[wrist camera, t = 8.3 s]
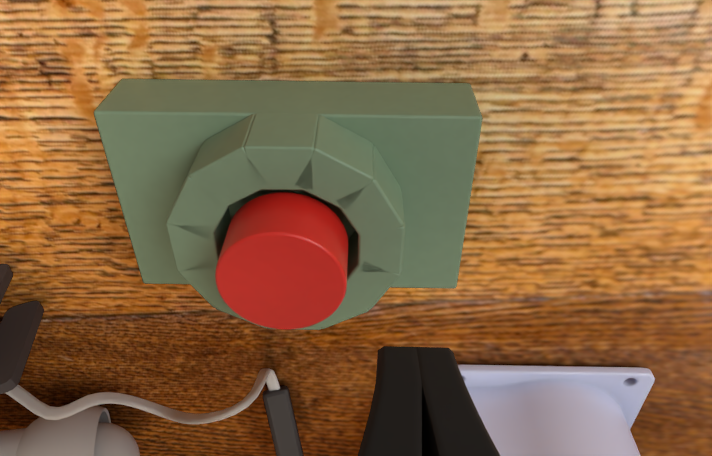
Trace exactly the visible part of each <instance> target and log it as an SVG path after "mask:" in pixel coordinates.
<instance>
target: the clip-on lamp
mask: <svg viewBox="0 0 712 456" xmlns="http://www.w3.org/2000/svg"><path fill="white" fill-rule="evenodd" d="M12 277H13V273H12V271H11V269H10V267H9V265H7V264H0V303H1V301H2V299H3V297H4V294H5V292H6V290H7V288H8V286H9V283H10V281H11V279H12ZM43 313H44V309H43V307H42V306H41V304H40V303H39V302H38V301H31V302H28V303H24V304H21V305H17V306H14V307H12V308H10V309H9V310H8V311H7V312H6V313H5V315H4V317H3V319H2V321H1V323H0V394H3V393H6V394H7V395H9V396H10V397H12V398H13V399H14V400H16V401H17V402H19V403H20V404H21V405H23V406H24V407H26V408H27V409H28V410H30V411H31V412H32V413H34V414H36V415H38V416H40V417H39V418H38V419H36V420H35V421H33V422H32V423H31V424H30V425H29V426H28V427H27V428H22V429H13V430H4V431H0V456H140V453H139V448H138V445H137V443H136V441H135V439H134V438H133V436H132V435H131V434H130V433H129V432H128V431H127V430H125V429H124V428H122V427H120V426H118V425H116V424H112V423H111V419H110V415H109V412H108V410H107V409H106V408H105V407H101V406H98V405H100V404H121V405H126V406H130V407H134V408H137V409H140V410H143V411H146V412H149V413H152V414H155V415H158V416H160V417H163V418H166V419H169V420H172V421H176V422H179V423H185V424H204V423H211V422H215V421H219V420H223V419H225V418H228V417H230V416H233V415H236V414H237V413H239V412H240V411H242V410H244V409H245V408H247V407H248V406H249V405H250V404H251V403H252V402H253V401H254V400H255V399H256V398H257V397H258V395H259V394H260V392H261V390H262V389H263V387H264V385H265V383H267V386H268V390H266V391H264V392H263V400H264V405H265V409H266V413H267V417H268V421H269V426H270V430H271V434H272V438H273V442H274V447H275V451H276V455H277V456H304V455H303V451H302V446H301V442H300V437H299V433H298V429H297V424H296V420H295V416H294V411H293V407H292V403H291V398H290V394H289V389H288V387H287V386H281V387H280V386H279V383H278V379H277V377H276V375H275V373H274V370H272V369H269V368H263V369H261V370H260V372H259V373H258V376H257V379H256V381H255V384H254V386H253V388H252V389H251V391H250V393H249V394H248V395H247V396H246V397H245V398H244V399H243V400H242V401H240V402H239V403H237V404H235V405H234V406H232V407H229V408H227V409H224V410H221V411H217V412H213V413H205V414H192V413H185V412H181V411H177V410H174V409H171V408H168V407H165V406H162V405H159V404H157V403H154V402H151V401H148V400H145V399H142V398H138V397H135V396H131V395H127V394H122V393H114V392H100V393H94V394H90V395H87V396H85V397H82V398H80V399H78V400H76V401H74V402H72V403H70V404H67V405H64V406H61V407H53V406H48V405H47V404H45V403H43V402H41V401H39V400H38V399H37V398H36V397H34V396H33V395H32V394H30V393H29V392H28V391H26V390H25V389H24V388H22V387H21V386H19V385H18V383H19V382H20V379H21V376H22V373H23V370H24V367H25V364H26V361H27V359H28V356H29V353H30V350H31V347H32V344H33V341H34V339H35V336H36V333H37V330H38V327H39V324H40V321H41V318H42V316H43Z"/></svg>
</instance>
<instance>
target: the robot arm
mask: <svg viewBox="0 0 712 456" xmlns="http://www.w3.org/2000/svg"><path fill="white" fill-rule="evenodd" d="M654 380H655V378H654V376H653V374H652V372H651V370H649V369H648V368H642V367H585V366H524V365H464V364H457V362H456V359H455V356H454V353H453V352H452V351H451V350H450V349H449V348H430V347H387V346H384V347H383V348H381V349H379V350H378V359H377V375H376V385H375V391H374V396H373V400H372V405H371V410H370V414H369V418H368V421H367V425H366V429H365V432H364V436H363V440H362V443H361V447H360V450H359V453H358V456H641V455H640V453H639V451H638V448H637V446H636V443H635V441H634V439H633V436H632V434H631V431H630V428H631V426H632V424H633V422H634V420H635V419H636V417H637V415H638V413H639V411H640V409H641V407H642V405H643V403H644V401H645V399H646V397H647V395H648V393H649V391H650V389H651V387H652V385H653V383H654Z"/></svg>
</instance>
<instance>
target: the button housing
mask: <svg viewBox="0 0 712 456" xmlns="http://www.w3.org/2000/svg"><path fill="white" fill-rule="evenodd" d="M94 116H95V120H96V123H97V126H98V130H99V133H100V137H101V140H102V143H103V147H104V150H105V154H106V157H107V161H108V164H109V167H110V171H111V174H112V178H113V181H114V184H115V188H116V191H117V195H118V198H119V201H120V205H121V208H122V212H123V215H124V219H125V222H126V225H127V229H128V232H129V236H130V239H131V242H132V246H133V249H134V253H135V256H136V260H137V263H138V266H139V270H140V273H141V277H142V280H143V283H145V284H191V285H192V286H193V287H194V288H195V289H196V290H197V291H198V292H199V293H200V294H201V295H202V296H203V297H204V298H205V299H206V300H207V301H208V302H209V303H210V304H211V305H212V306H213V307H214V308H216V309H217V310H220V311H222V312H225V313H227V314H230V315H232V316H235V317H238V318H240V319H243V320H245V321H248V320H246V319H244V318H243V317H241V316H239V315H238V314H237V313H235V312H234V311H233V310H232V309H231V308H230V307H229V306H228V305H227V304H226V303H225V302H224V300H223V299H222V297H221V295H220V293H219V291H218V288H217V284H216V279H215V271H216V266H217V262H218V259H219V256H220V253H221V250H222V247H223V244H224V240H225V237H226V234H227V231H228V228H229V225H230V222H231V220H232V218H233V216H234V215H235V213H236V212H237V211H238V210H239V209H240V208H241V207H242V206H243V205H245V204H246V203H247V202H249V201H251V200H252V199H254V198H257V197H259V196H262V195H265V194H269V193H276V192H291V193H298V194H302V195H306V196H309V197H311V198H314V199H316V200H318V201H320V202H322V203H323V204H325V205H326V206H328V207H329V208H330V209H331V210H332V211H333V212H334V213H335V214H336V215H337V216H338V217H339V219H340V220H341V222H342V223H343V225H344V227H345V229H346V232H347V236H348V267H347V288H346V293H345V297H344V299H343V301H342V303H341V304H340V306H339V307H338V309H337V310H336V311H335V312H334V313H333V314H332V315H330V316H329V317H328V318H326V319H325V320H323V321H321V322H319V323H317V324H315V325H312V326H309V327H304V328H299V329H305V330H320V329H324V328H327V327H329V326H332V325H335V324H337V323H340V322H342V321H345V320H347V319H350V318H353V317H355V316H358V315H360V314H363V313H365V312H368V311H369V310H370V309H372V307H373V306H374V305H375V304H376V303H377V302H378V300H379V299H380V298H381V297H382V296H383V295H384V293H385V292H386V291H387V290H388V289H389V288H390V287H398V288H456V286H457V280H458V274H459V267H460V261H461V254H462V248H463V241H464V235H465V228H466V222H467V215H468V209H469V202H470V196H471V190H472V183H473V177H474V170H475V164H476V157H477V151H478V144H479V138H480V131H481V125H482V115H481V112H480V110H479V107H478V104H477V101H476V99H475V96H474V93H473V90H472V87H471V85H470V84H469V83H406V82H330V81H254V80H179V79H121V80H120V81H119V83H118V84H117V85H116V86H115V87H114V88H113V90H112V91H111V92H110V93H109V94H108V95H107V97H106V98H105V99H104V100H103V101H102V102H101V104H100V105H99V106H98V107H97V108H96V109H95V111H94ZM248 322H250V321H248ZM250 323H252V322H250ZM253 324H255V323H253ZM255 325H258V324H255ZM258 326H260V327H263V328H267V329H274V328H268V327H264V326H261V325H258Z"/></svg>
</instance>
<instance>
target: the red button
mask: <svg viewBox="0 0 712 456" xmlns="http://www.w3.org/2000/svg"><path fill="white" fill-rule="evenodd" d="M347 267H348V236H347V232H346V229H345V227H344V225H343V223H342V222H341V220H340V219H339V217H338V216H337V215H336V214H335V213H334V212H333V211H332V210H331V209H330V208H329V207H328V206H326V205H325V204H323V203H322V202H320V201H318V200H316V199H314V198H311V197H309V196H306V195H302V194H298V193H291V192H276V193H269V194H265V195H262V196H259V197H257V198H254V199H252V200H251V201H249V202H247V203H246V204H245V205H243V206H242V207H241V208H240V209H239V210H238V211H237V212H236V213H235V215H234V216H233V218H232V220H231V222H230V225H229V228H228V231H227V234H226V237H225V240H224V244H223V247H222V250H221V253H220V256H219V259H218V262H217V266H216V271H215V279H216V284H217V288H218V291H219V293H220V295H221V297H222V299H223V300H224V302H225V303H226V304H227V305H228V306H229V307H230V308H231V309H232V310H233V311H234V312H235V313H237V314H238V315H239V316H241V317H243V318H244V319H246V320H248V321H250V322H252V323H255V324H258V325H261V326H264V327H268V328H274V329H299V328H304V327H309V326H312V325H315V324H317V323H319V322H321V321H323V320H325V319H326V318H328V317H329V316H330V315H332V314H333V313H334V312H335V311H336V310H337V309H338V307H339V306H340V304H341V303H342V301H343V299H344V297H345V293H346V288H347Z"/></svg>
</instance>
